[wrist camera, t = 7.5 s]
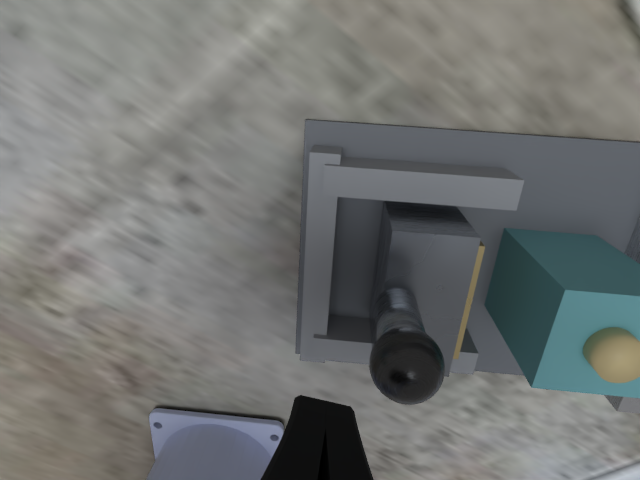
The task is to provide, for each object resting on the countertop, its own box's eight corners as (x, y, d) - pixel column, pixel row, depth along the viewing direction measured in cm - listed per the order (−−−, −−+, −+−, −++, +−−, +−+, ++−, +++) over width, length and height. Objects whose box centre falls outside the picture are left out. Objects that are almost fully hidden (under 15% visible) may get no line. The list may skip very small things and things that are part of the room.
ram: (438, 320, 19) (494, 478, 12) (357, 312, 20) (360, 464, 12) (462, 203, 17) (551, 307, 10) (370, 196, 17) (384, 292, 10)
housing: (568, 312, 19) (664, 417, 13) (484, 304, 19) (541, 404, 13) (596, 235, 17) (718, 315, 12) (504, 228, 18) (578, 303, 12)
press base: (601, 379, 21) (643, 431, 18) (296, 350, 21) (286, 395, 18) (699, 146, 16) (781, 162, 13) (306, 118, 17) (296, 129, 14)
